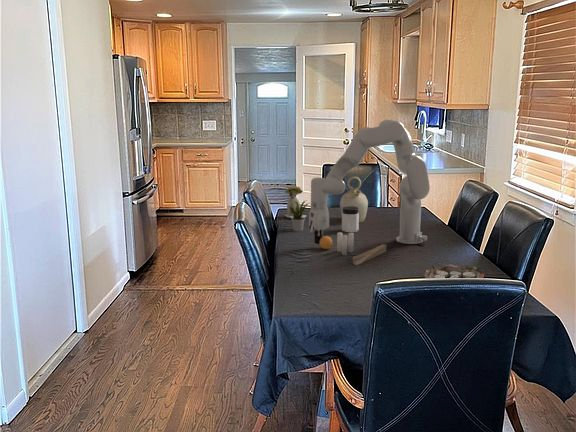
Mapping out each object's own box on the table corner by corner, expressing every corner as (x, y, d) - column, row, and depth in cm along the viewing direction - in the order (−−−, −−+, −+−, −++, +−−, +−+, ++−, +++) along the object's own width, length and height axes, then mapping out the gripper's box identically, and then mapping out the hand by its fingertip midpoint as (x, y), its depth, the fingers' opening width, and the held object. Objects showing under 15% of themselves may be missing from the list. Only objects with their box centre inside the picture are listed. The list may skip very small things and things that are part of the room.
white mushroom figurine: (293, 221, 298) (292, 188, 294) (280, 217, 308) (279, 185, 304) (309, 218, 305) (309, 186, 300) (296, 214, 315) (296, 183, 311)
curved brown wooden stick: (386, 251, 238) (386, 245, 237) (356, 265, 220) (357, 258, 219) (382, 250, 239) (382, 244, 238) (352, 264, 221) (352, 257, 221)
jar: (343, 232, 271) (343, 210, 268) (340, 228, 279) (340, 206, 276) (360, 231, 272) (361, 209, 270) (356, 228, 280) (356, 205, 277)
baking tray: (424, 270, 214) (425, 257, 213) (481, 273, 209) (482, 260, 207) (423, 297, 186) (423, 282, 185) (488, 301, 180) (489, 286, 179)
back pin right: (354, 251, 239) (354, 233, 237) (351, 252, 237) (351, 234, 235) (350, 250, 240) (350, 232, 239) (347, 251, 239) (347, 233, 237)
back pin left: (348, 254, 235) (348, 235, 233) (345, 255, 233) (345, 236, 232) (343, 253, 237) (343, 234, 235) (340, 254, 235) (340, 236, 233)
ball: (324, 242, 248) (333, 249, 245) (315, 245, 245) (324, 253, 241) (327, 232, 245) (336, 239, 242) (318, 235, 241) (327, 242, 238)
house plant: (314, 226, 285) (314, 196, 281) (313, 233, 272) (313, 202, 268) (288, 226, 286) (287, 196, 283) (285, 232, 273) (285, 201, 269)
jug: (366, 223, 289) (367, 178, 283) (338, 223, 292) (338, 178, 286) (368, 217, 303) (369, 174, 298) (341, 216, 306) (341, 174, 301)
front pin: (343, 251, 240) (343, 233, 238) (340, 252, 238) (340, 234, 236) (339, 250, 241) (339, 232, 239) (336, 251, 240) (336, 233, 238)
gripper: (315, 208, 234) (314, 248, 239) (335, 203, 245) (334, 241, 249) (302, 206, 239) (301, 245, 243) (322, 201, 250) (321, 238, 254)
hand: (318, 243), depth 246 cm, fingers closed
